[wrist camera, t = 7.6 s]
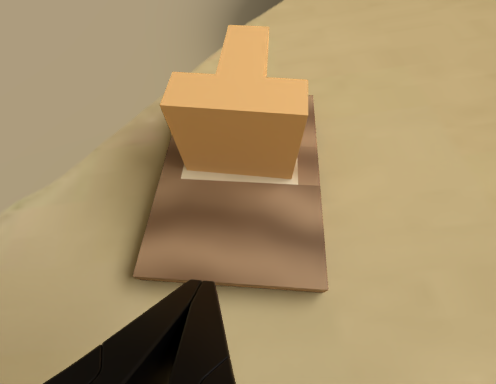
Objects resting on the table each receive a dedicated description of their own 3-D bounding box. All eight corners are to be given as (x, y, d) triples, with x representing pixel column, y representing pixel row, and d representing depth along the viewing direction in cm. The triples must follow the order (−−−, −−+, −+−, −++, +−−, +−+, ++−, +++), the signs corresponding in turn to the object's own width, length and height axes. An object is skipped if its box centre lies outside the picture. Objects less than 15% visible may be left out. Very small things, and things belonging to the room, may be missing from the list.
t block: (291, 179, 23) (308, 115, 16) (186, 170, 24) (159, 105, 17) (294, 103, 28) (307, 28, 21) (206, 97, 29) (191, 23, 22)
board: (323, 292, 20) (328, 289, 19) (140, 279, 21) (132, 276, 19) (310, 105, 30) (312, 95, 29) (186, 101, 31) (183, 90, 29)
